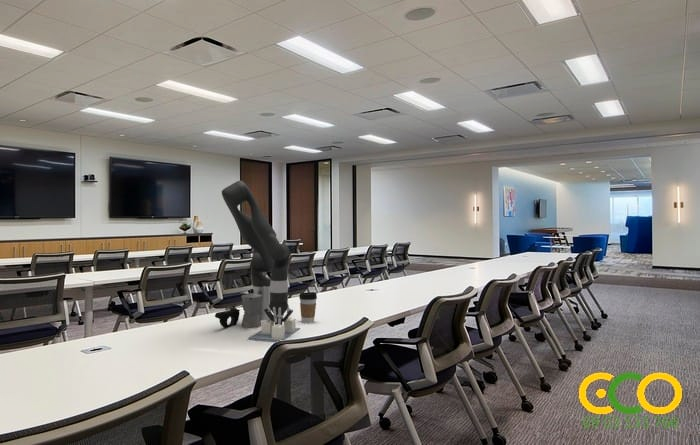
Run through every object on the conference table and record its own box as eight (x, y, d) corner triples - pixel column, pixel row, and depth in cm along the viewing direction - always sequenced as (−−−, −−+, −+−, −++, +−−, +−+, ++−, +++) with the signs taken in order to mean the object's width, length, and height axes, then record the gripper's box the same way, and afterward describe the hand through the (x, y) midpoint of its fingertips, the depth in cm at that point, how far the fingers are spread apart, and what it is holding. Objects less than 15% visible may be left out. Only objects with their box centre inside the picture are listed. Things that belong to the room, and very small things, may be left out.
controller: (241, 326, 206) (241, 305, 206) (219, 331, 195) (219, 309, 195) (235, 325, 208) (235, 303, 208) (213, 330, 198) (213, 307, 198)
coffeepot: (261, 332, 196) (261, 291, 196) (239, 332, 195) (239, 291, 195) (263, 323, 212) (263, 286, 212) (242, 324, 210) (243, 286, 210)
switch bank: (246, 342, 179) (246, 338, 179) (270, 328, 202) (270, 325, 202) (280, 345, 176) (280, 341, 176) (300, 331, 199) (300, 327, 199)
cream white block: (261, 333, 188) (261, 320, 188) (265, 331, 192) (265, 318, 192) (270, 334, 187) (270, 321, 187) (273, 332, 191) (274, 319, 191)
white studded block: (283, 331, 193) (283, 318, 193) (286, 329, 197) (287, 316, 197) (292, 332, 192) (292, 319, 192) (295, 329, 196) (295, 317, 196)
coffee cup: (315, 326, 209) (316, 294, 209) (297, 325, 209) (298, 294, 209) (317, 322, 217) (317, 291, 217) (300, 321, 217) (300, 291, 217)
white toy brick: (271, 339, 180) (271, 325, 180) (275, 336, 184) (275, 323, 184) (280, 339, 179) (281, 325, 179) (284, 337, 183) (284, 323, 183)
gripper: (260, 291, 187) (260, 332, 187) (290, 292, 184) (289, 334, 184) (268, 288, 194) (267, 328, 194) (296, 290, 191) (296, 330, 191)
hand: (278, 331), depth 189 cm, fingers closed
